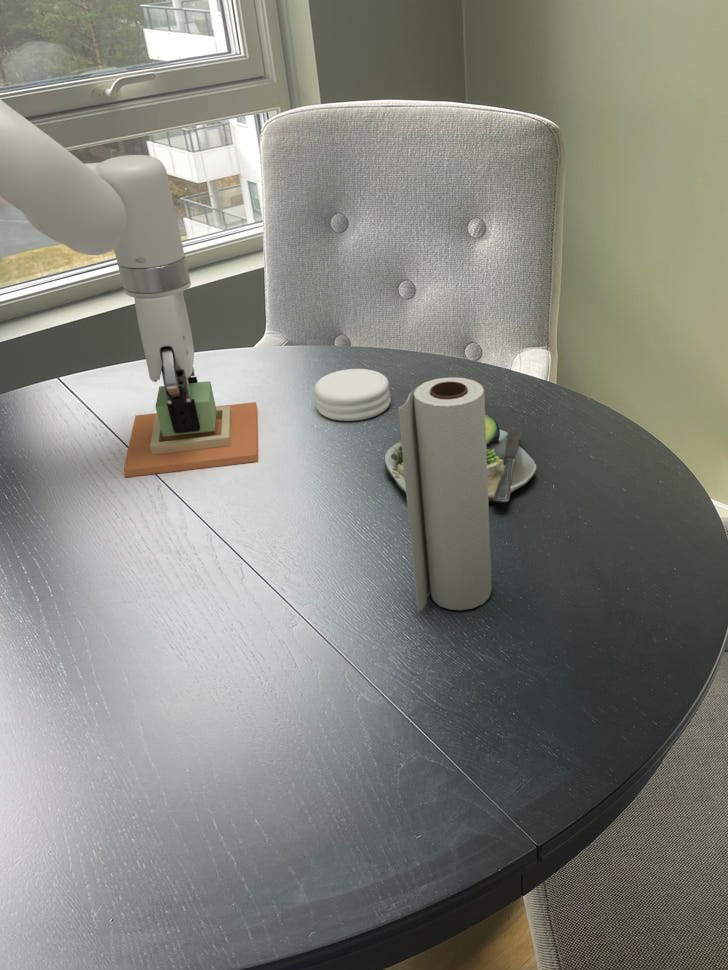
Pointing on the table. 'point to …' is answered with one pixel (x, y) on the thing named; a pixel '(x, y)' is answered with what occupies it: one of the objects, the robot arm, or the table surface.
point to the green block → (202, 402)
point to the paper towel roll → (447, 492)
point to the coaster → (352, 394)
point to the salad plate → (503, 462)
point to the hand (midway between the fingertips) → (188, 418)
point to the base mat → (194, 443)
